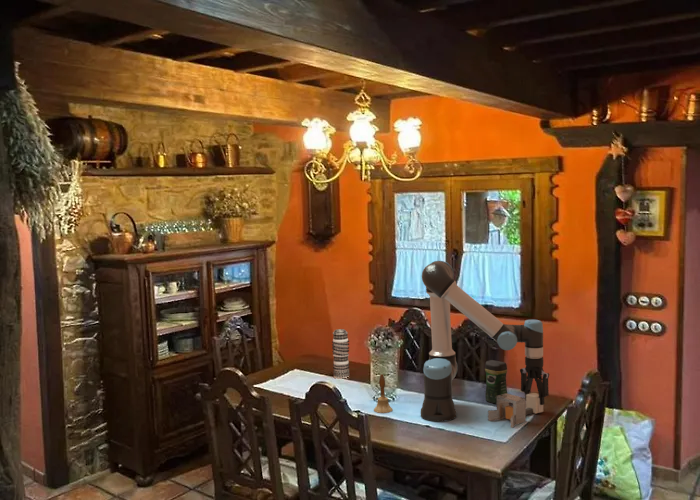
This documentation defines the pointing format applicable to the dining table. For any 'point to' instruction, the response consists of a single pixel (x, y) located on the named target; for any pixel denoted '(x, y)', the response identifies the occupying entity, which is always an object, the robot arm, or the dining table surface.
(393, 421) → the dining table surface
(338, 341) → the decorative candle
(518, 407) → the housing
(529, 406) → the plug
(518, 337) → the robot arm
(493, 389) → the coffee jar
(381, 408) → the hand bell
